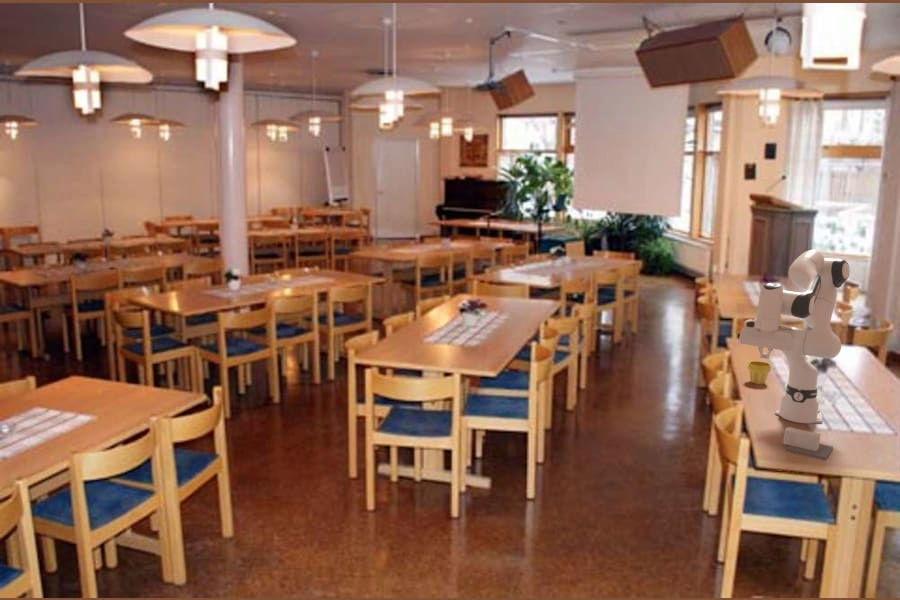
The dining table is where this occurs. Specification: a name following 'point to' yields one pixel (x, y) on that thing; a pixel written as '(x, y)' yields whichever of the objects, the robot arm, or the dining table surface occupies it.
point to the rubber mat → (820, 453)
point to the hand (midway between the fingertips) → (764, 358)
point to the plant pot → (759, 371)
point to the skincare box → (802, 439)
